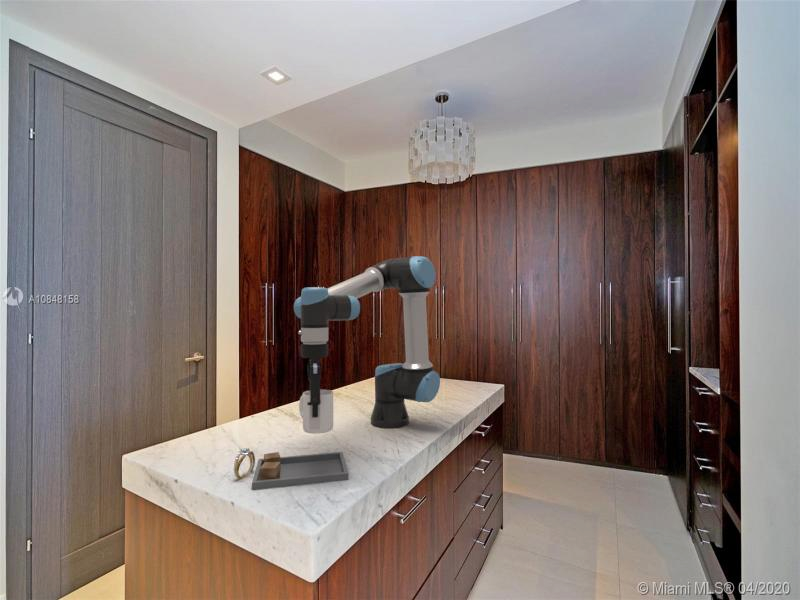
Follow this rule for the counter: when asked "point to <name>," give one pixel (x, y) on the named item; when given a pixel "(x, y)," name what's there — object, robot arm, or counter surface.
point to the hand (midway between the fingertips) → (314, 423)
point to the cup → (325, 411)
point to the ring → (237, 463)
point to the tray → (304, 470)
